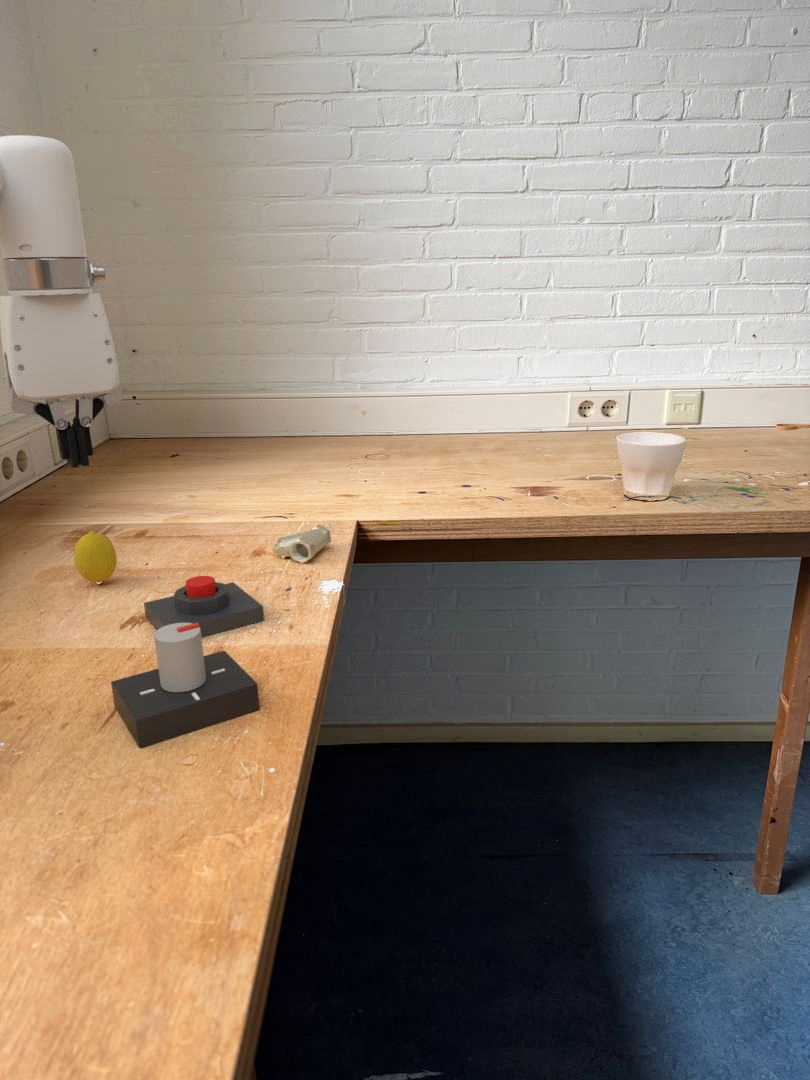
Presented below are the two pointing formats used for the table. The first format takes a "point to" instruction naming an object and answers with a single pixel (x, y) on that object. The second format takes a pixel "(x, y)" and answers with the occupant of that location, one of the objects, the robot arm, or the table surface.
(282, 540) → the pipe fitting
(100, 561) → the lemon
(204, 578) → the power button
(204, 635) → the switch block
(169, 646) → the timer dial
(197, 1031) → the table surface
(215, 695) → the panel
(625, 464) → the cup
